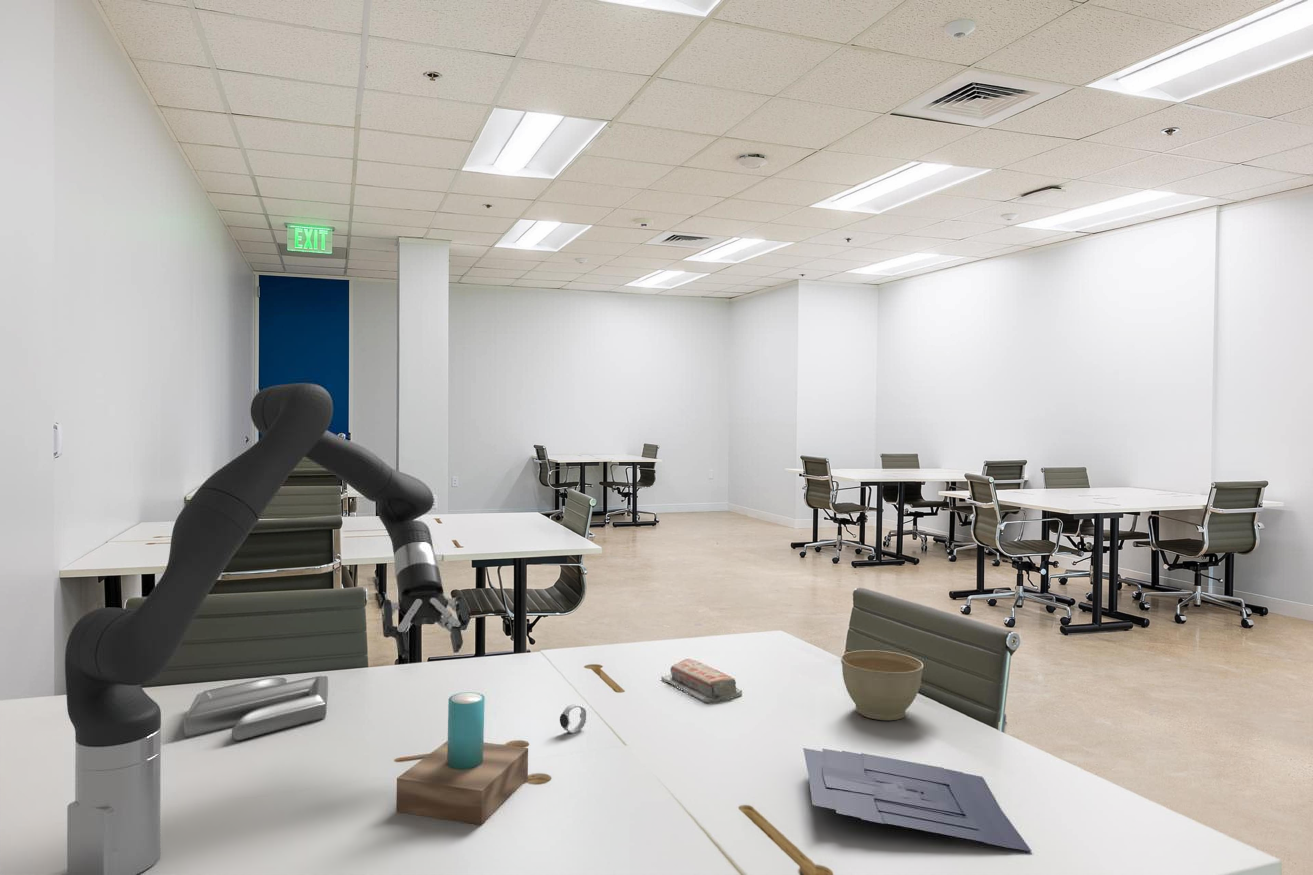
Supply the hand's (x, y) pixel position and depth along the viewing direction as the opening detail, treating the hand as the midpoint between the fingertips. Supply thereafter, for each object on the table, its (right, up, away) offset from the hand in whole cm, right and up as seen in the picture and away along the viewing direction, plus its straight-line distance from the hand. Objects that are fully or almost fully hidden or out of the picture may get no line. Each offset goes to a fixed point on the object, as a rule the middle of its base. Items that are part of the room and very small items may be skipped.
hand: (432, 652), depth 135 cm
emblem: (-40, -19, +24) cm, 51 cm away
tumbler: (+8, -15, -9) cm, 19 cm away
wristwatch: (+22, -20, +17) cm, 34 cm away
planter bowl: (+83, -20, +30) cm, 91 cm away
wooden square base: (+8, -20, -9) cm, 23 cm away
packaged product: (+47, -20, +44) cm, 68 cm away
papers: (+76, -21, -10) cm, 79 cm away
